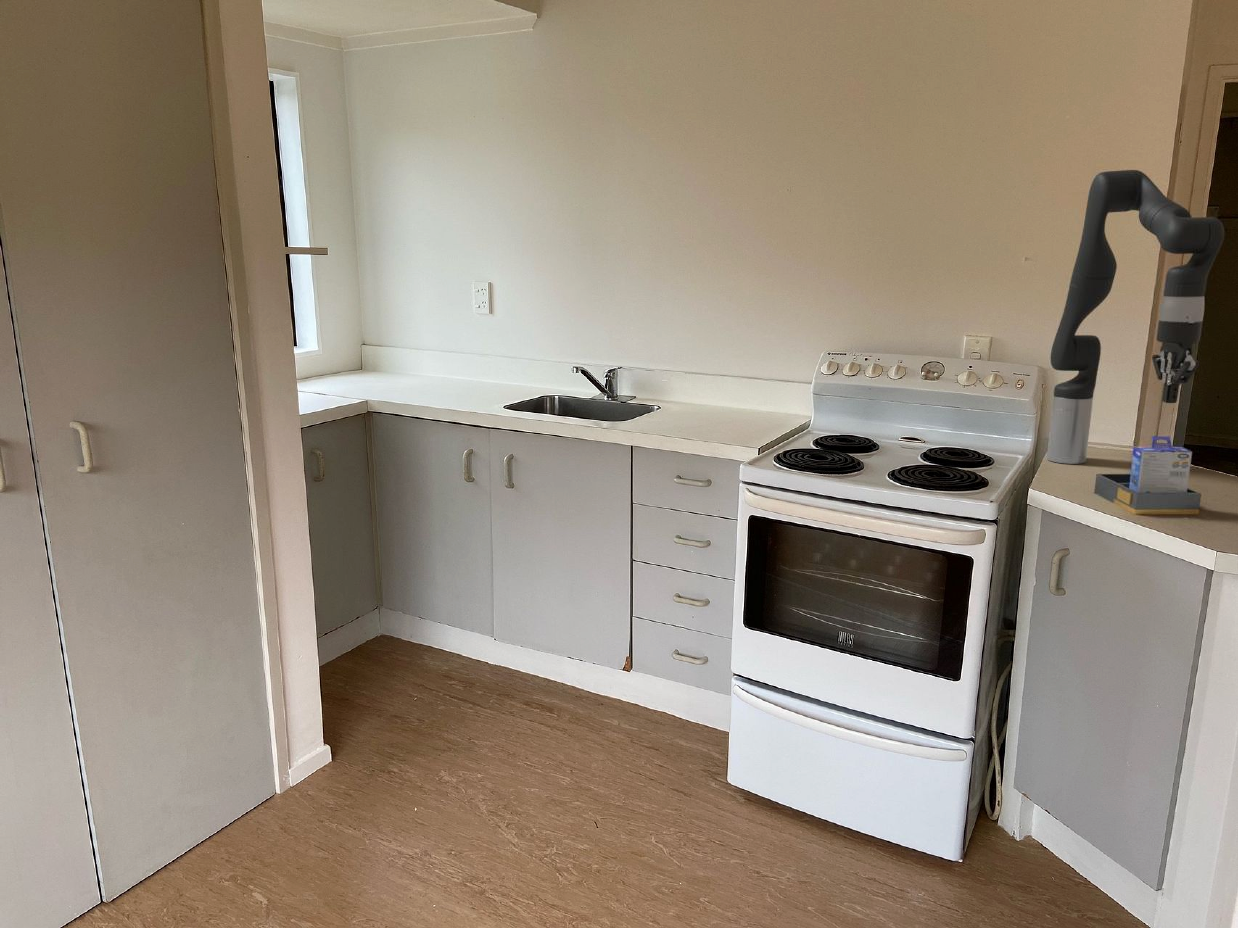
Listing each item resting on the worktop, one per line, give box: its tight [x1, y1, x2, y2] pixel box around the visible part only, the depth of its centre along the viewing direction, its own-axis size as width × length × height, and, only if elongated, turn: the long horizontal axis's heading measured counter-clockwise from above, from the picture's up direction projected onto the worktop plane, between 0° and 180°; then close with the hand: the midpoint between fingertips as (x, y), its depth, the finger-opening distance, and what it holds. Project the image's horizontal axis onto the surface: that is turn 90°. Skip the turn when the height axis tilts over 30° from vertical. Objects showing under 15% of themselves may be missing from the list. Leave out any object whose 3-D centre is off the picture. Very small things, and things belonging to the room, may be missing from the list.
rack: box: [1093, 473, 1202, 515], centre depth 185 cm, size 17×13×4 cm
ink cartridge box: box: [1129, 435, 1193, 493], centre depth 180 cm, size 10×6×14 cm, turn 80°
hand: (1169, 402), depth 176 cm, fingers closed
